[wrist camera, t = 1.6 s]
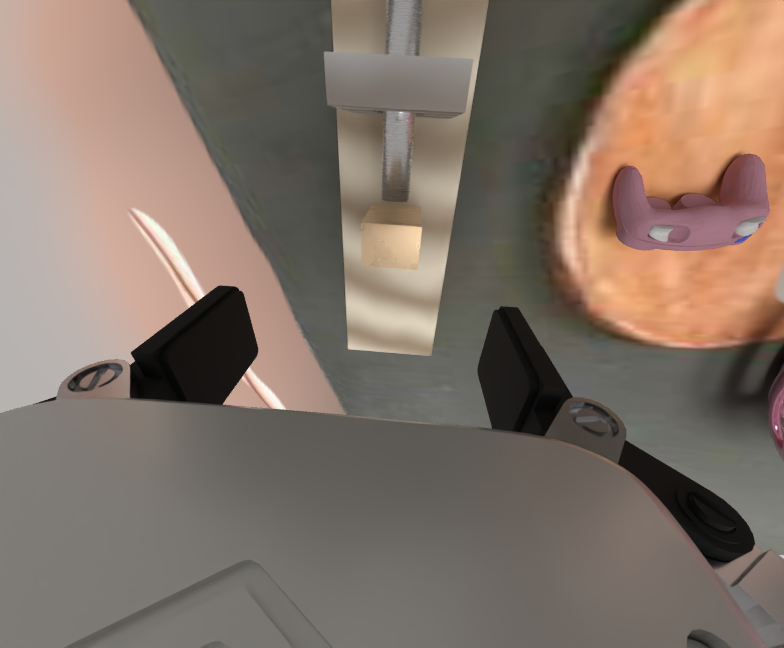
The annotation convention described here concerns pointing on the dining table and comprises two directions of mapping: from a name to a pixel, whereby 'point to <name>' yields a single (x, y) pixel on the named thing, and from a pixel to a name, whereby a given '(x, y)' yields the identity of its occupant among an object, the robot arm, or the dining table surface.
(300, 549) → the robot arm
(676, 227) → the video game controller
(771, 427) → the spiral basket
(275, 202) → the dining table surface
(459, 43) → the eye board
